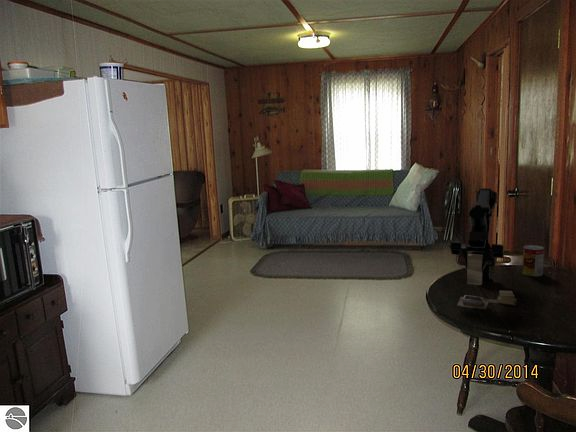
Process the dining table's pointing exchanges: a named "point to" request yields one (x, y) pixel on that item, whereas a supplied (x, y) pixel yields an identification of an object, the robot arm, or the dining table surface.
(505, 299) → the lower offcut
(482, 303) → the rack
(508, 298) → the upper offcut
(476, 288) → the dining table surface
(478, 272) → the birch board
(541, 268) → the canned food
